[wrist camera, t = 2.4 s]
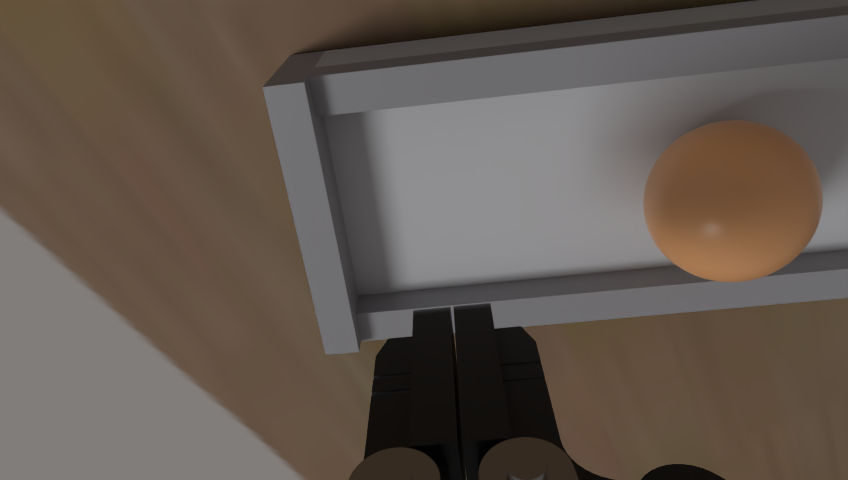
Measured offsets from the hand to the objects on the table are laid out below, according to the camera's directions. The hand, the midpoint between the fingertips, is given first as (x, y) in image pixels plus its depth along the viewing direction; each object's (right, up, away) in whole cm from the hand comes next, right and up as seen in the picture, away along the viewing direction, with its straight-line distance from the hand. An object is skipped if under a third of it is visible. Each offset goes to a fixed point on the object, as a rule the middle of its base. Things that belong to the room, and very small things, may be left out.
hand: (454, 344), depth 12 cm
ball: (+7, +3, +3) cm, 8 cm away
